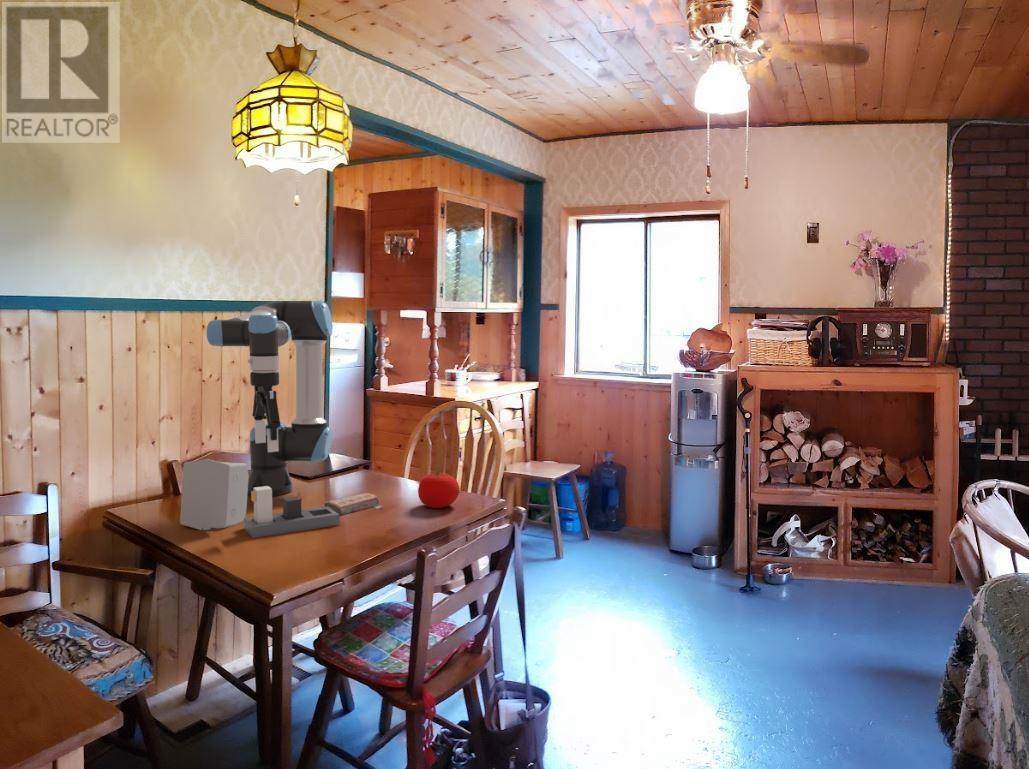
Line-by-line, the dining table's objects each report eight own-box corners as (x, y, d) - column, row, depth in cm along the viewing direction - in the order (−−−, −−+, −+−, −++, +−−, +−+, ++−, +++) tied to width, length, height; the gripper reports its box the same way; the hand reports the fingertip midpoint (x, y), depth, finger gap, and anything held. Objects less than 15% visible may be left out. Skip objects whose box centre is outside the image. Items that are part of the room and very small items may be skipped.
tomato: (423, 500, 247) (423, 467, 246) (462, 503, 245) (462, 469, 244) (413, 510, 236) (413, 475, 234) (454, 512, 234) (454, 477, 233)
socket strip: (243, 531, 211) (243, 517, 211) (328, 519, 225) (328, 506, 224) (252, 541, 203) (252, 527, 202) (340, 528, 216) (340, 514, 215)
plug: (251, 530, 209) (250, 487, 208) (269, 527, 212) (268, 485, 211) (255, 534, 206) (253, 491, 205) (272, 531, 209) (271, 488, 207)
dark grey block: (283, 525, 214) (282, 498, 213) (297, 523, 216) (296, 496, 215) (287, 529, 211) (286, 501, 210) (301, 527, 213) (301, 499, 212)
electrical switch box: (255, 525, 225) (258, 458, 226) (225, 532, 211) (229, 460, 211) (211, 521, 228) (215, 455, 229) (179, 528, 214) (183, 457, 215)
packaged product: (362, 489, 243) (383, 495, 237) (362, 504, 244) (383, 510, 237) (316, 500, 229) (337, 506, 223) (316, 516, 230) (337, 522, 223)
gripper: (240, 367, 216) (242, 440, 218) (261, 376, 195) (264, 457, 197) (266, 366, 219) (268, 438, 222) (291, 374, 199) (293, 454, 201)
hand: (266, 447), depth 210 cm, fingers open, 13 cm apart
